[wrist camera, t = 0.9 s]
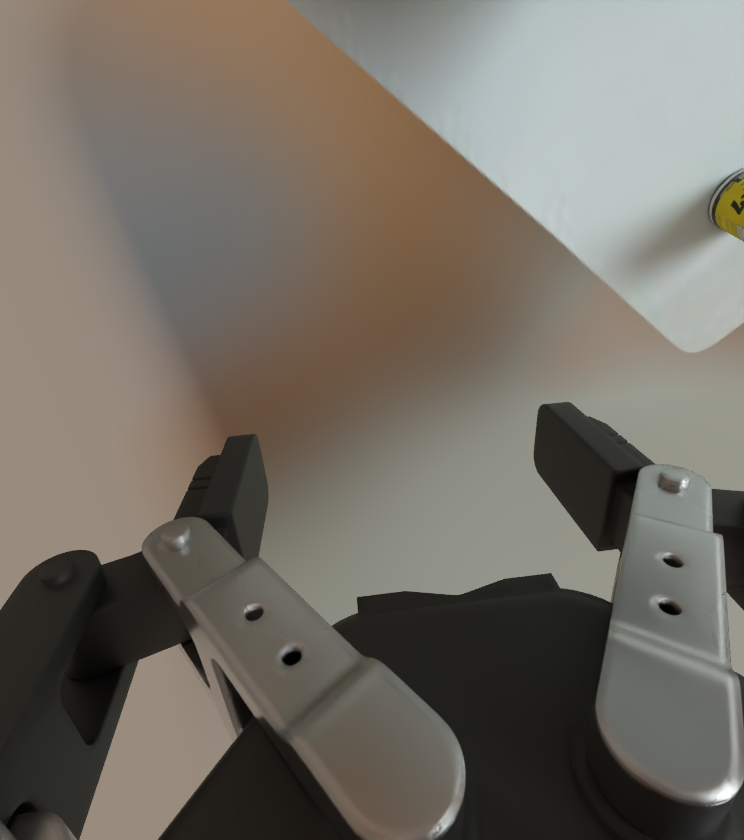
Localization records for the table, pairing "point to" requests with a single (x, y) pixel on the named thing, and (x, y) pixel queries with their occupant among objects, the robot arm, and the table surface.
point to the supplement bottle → (730, 206)
